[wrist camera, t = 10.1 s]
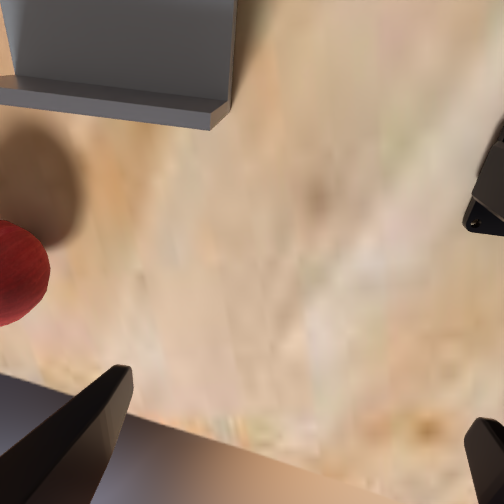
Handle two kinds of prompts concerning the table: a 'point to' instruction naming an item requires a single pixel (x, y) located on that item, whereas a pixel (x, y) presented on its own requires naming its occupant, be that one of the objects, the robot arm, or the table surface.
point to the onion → (20, 272)
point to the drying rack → (123, 59)
